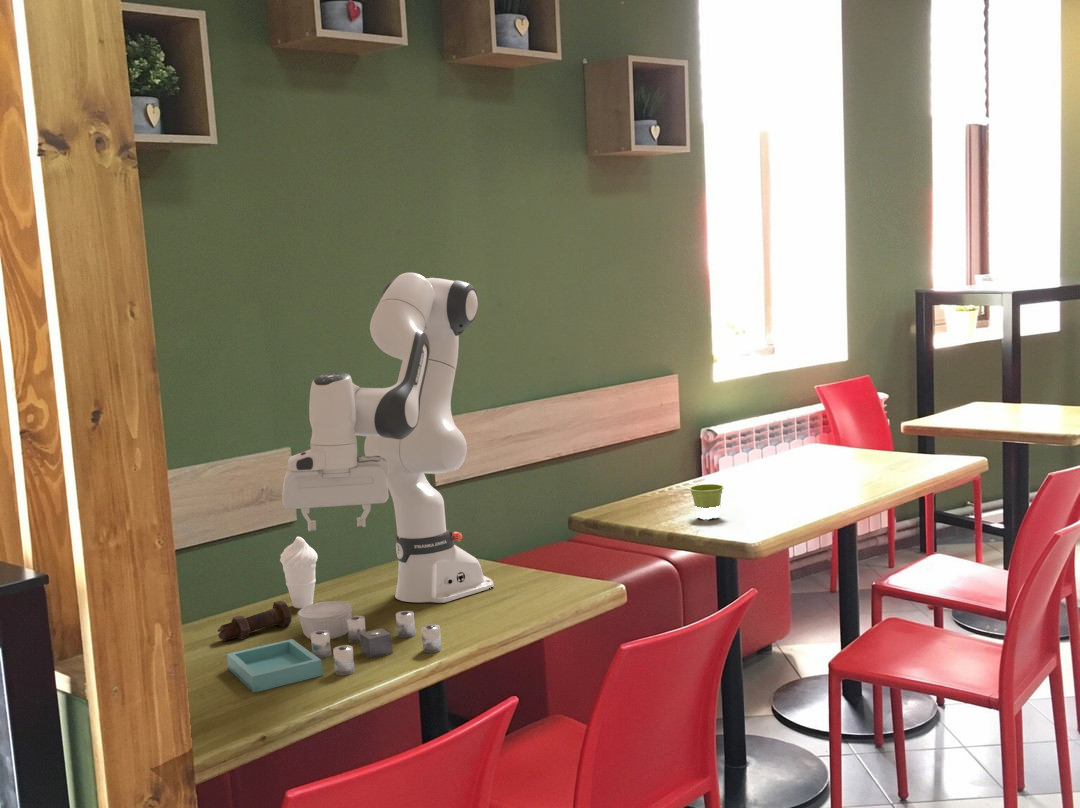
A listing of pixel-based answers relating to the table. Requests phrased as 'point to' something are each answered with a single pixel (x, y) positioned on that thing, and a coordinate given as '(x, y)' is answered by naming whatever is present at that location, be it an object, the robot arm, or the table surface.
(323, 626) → the ramekin
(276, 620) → the bolt
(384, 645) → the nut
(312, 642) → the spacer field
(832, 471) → the table surface
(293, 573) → the soft serve ice cream cone
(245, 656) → the tray
